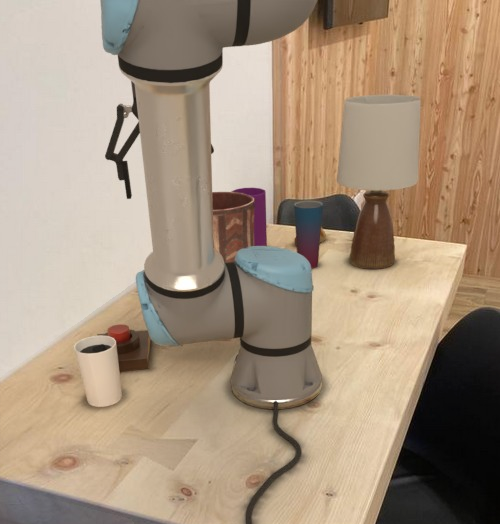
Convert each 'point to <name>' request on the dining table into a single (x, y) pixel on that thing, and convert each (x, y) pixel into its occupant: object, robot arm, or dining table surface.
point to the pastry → (322, 236)
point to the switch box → (133, 351)
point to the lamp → (378, 167)
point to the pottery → (232, 223)
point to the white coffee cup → (99, 370)
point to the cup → (308, 229)
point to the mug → (258, 214)
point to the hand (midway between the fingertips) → (164, 195)
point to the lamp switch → (119, 332)
